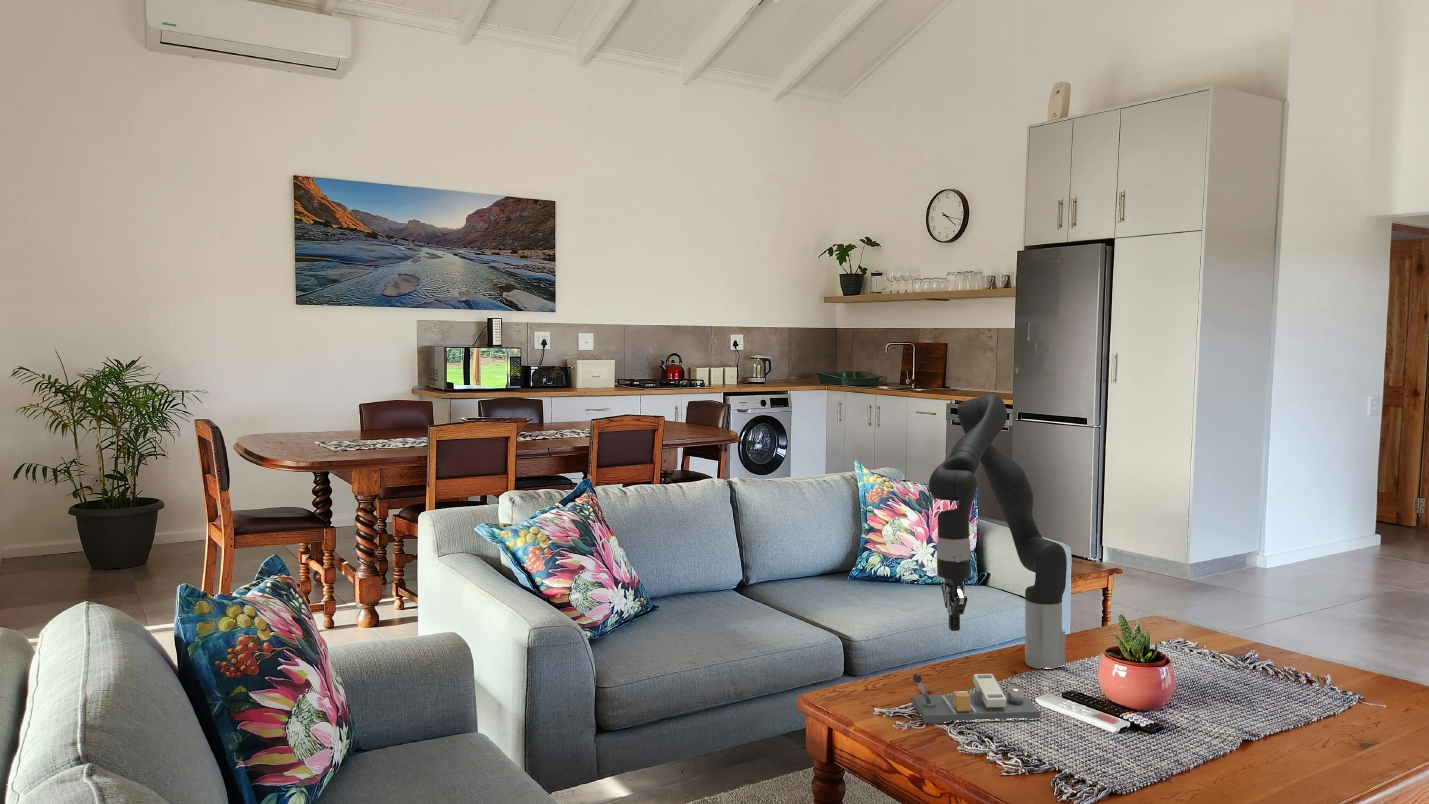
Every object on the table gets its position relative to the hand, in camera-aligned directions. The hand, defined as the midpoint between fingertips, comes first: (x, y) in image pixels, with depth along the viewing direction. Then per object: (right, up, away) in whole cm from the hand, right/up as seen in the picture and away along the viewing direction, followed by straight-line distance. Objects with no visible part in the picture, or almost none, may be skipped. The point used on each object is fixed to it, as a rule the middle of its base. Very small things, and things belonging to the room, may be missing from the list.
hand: (954, 629), depth 218 cm
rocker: (+8, -14, -1) cm, 16 cm away
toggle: (-6, -16, -2) cm, 18 cm away
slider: (0, -17, -5) cm, 18 cm away
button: (+14, -16, -1) cm, 21 cm away
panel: (+4, -19, -1) cm, 19 cm away
